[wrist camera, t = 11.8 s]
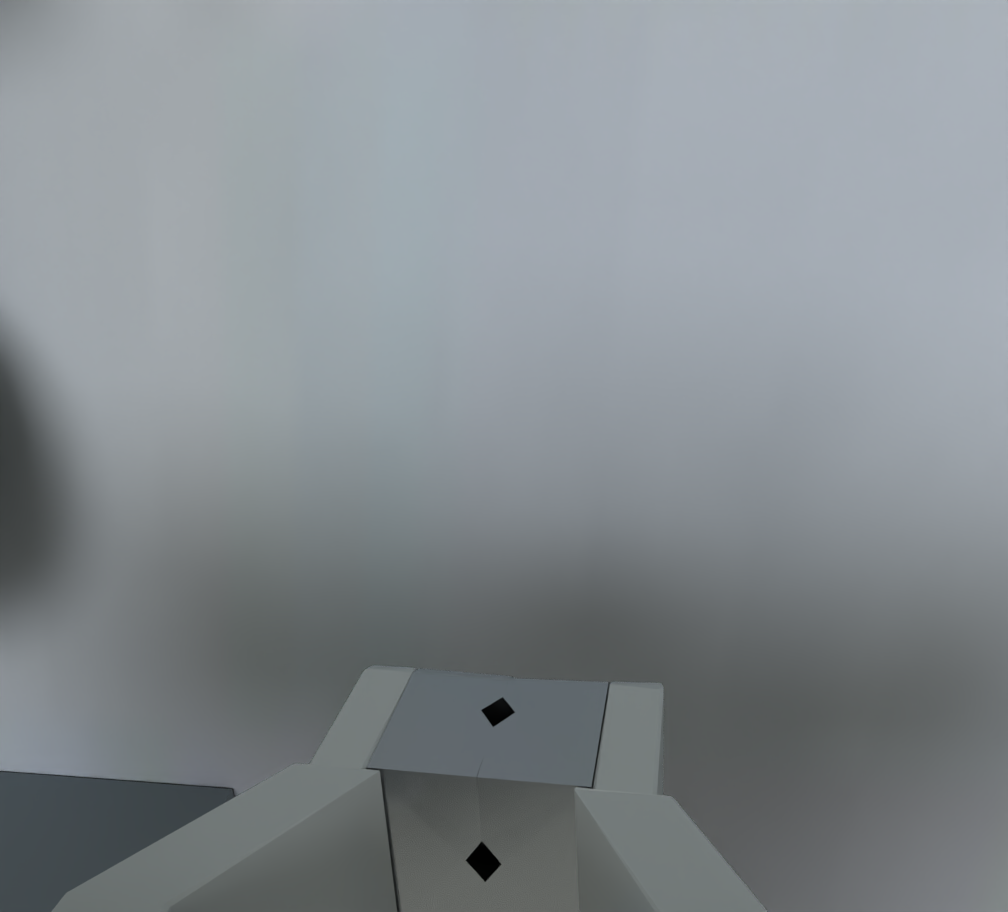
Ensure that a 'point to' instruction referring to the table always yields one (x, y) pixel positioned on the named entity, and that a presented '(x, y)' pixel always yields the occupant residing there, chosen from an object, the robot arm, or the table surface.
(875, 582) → the table surface
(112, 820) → the box
